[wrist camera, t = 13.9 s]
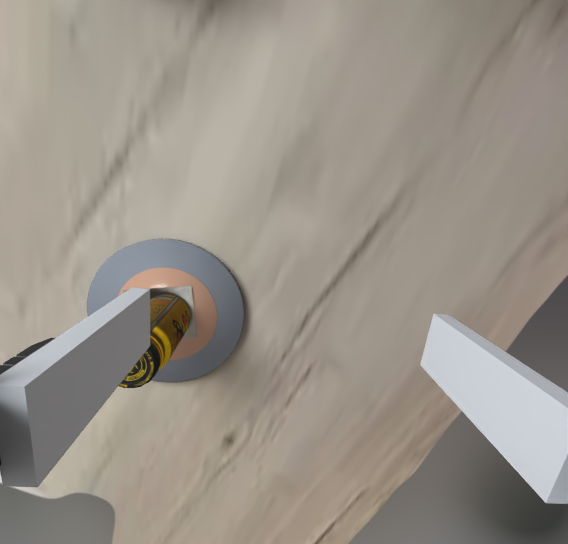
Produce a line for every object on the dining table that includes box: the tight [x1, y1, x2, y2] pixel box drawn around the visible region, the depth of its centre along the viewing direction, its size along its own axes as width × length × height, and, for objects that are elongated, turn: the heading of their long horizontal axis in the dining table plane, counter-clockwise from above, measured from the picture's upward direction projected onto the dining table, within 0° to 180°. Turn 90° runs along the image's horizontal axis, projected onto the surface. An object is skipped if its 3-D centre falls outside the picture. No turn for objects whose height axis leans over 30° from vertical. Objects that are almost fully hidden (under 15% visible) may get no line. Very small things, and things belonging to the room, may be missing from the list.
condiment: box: [118, 286, 197, 388], centre depth 31 cm, size 7×8×12 cm
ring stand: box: [87, 239, 244, 382], centre depth 38 cm, size 20×20×1 cm
